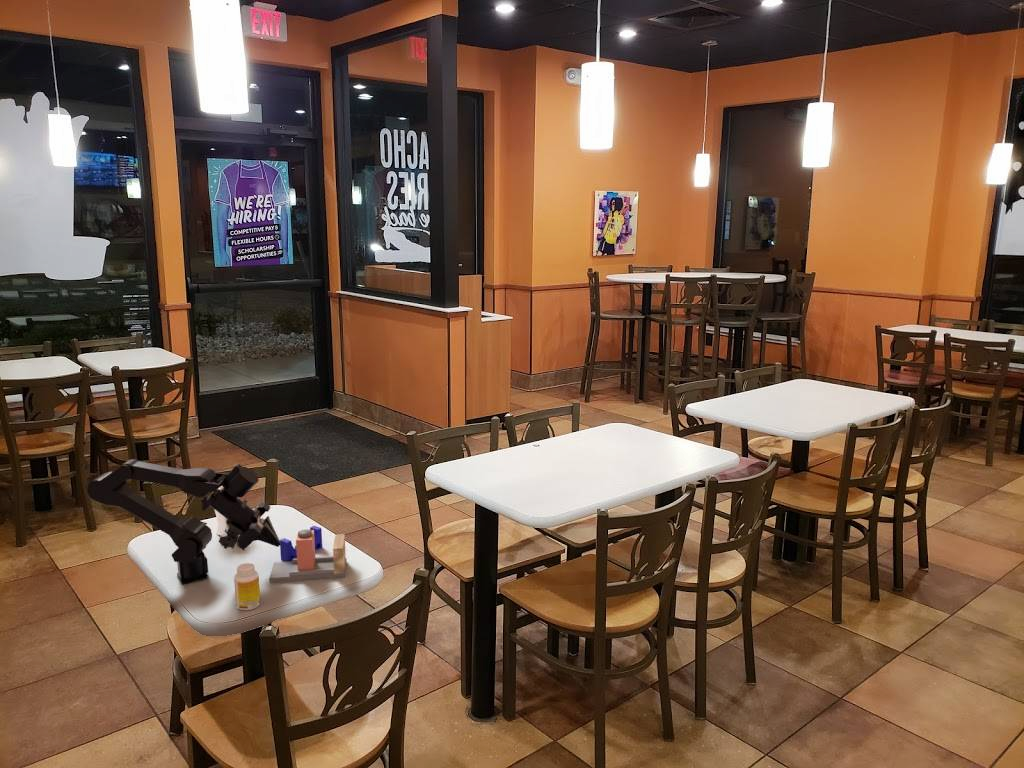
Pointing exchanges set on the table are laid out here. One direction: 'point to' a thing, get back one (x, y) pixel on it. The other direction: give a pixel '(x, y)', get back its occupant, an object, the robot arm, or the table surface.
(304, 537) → the orange upright block
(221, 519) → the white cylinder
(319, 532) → the blue curved piece
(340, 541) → the socket block
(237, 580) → the supplement bottle
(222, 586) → the table surface
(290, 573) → the socket board
